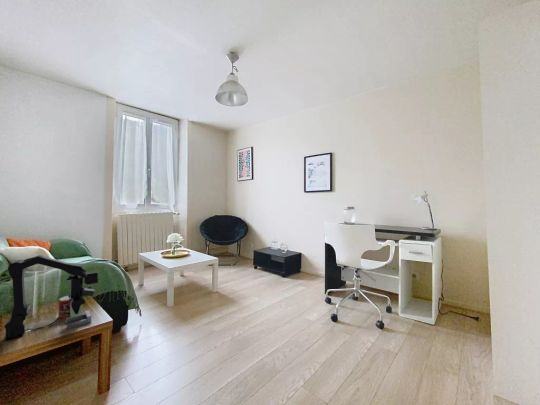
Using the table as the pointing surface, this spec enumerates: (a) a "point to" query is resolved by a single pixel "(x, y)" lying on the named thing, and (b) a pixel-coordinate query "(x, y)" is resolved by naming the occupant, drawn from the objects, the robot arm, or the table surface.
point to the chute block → (74, 312)
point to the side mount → (81, 322)
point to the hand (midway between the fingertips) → (76, 312)
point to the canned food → (64, 307)
